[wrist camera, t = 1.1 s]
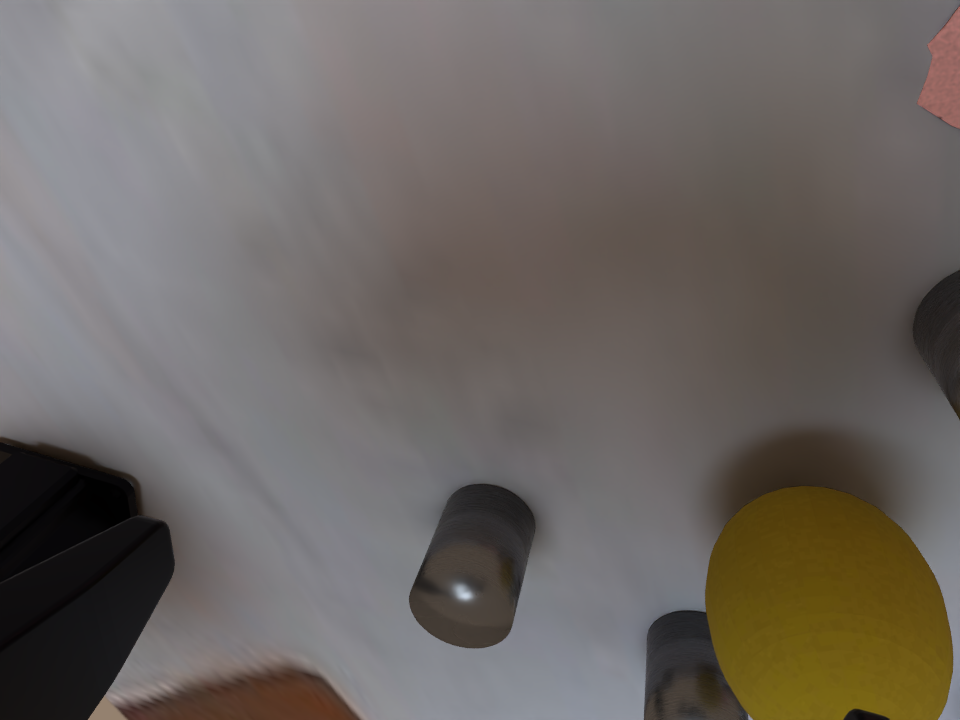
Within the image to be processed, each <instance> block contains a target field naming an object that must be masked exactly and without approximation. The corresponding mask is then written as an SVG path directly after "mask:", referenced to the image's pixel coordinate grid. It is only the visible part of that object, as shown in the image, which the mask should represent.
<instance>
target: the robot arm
mask: <svg viewBox="0 0 960 720" xmlns="http://www.w3.org/2000/svg"><path fill="white" fill-rule="evenodd" d="M174 566H175V560H174V554H173V548H172V542H171V536H170V530H169V526H168V525H167V524H166V522H164V521H162V520H158V519H154V518H150V517H147V516H141V515H140V516H138V514H137V507H136V500H135V493H134V489H133V487H132V485H131V484H130V483H129V482H128V481H126V480H125V479H122V478H120V477H116V476H113V475H109V474H106V473H103V472H99V471H96V470H92V469H89V468H86V467H82V466H79V465H75V464H72V463H69V462H65V461H62V460H58V459H55V458H52V457H48V456H45V455H41V454H38V453H35V452H31V451H28V450H24V449H21V448H18V447H14V446H11V445H7V444H4V443H1V442H0V720H88V718H89V717H90V715H91V714H92V713H93V711H94V710H95V708H96V707H97V705H98V704H99V702H100V701H101V700H102V698H103V697H104V695H105V694H106V692H107V691H108V689H109V688H110V686H111V685H112V683H113V682H114V680H115V678H116V677H117V675H118V673H119V672H120V670H121V668H122V666H123V665H124V663H125V661H126V659H127V658H128V656H129V654H130V652H131V650H132V649H133V647H134V645H135V643H136V641H137V640H138V638H139V636H140V634H141V632H142V631H143V629H144V627H145V625H146V623H147V622H148V620H149V618H150V616H151V614H152V613H153V611H154V609H155V607H156V605H157V604H158V602H159V600H160V598H161V596H162V595H163V593H164V591H165V589H166V587H167V586H168V584H169V582H170V580H171V578H172V575H173V572H174ZM843 720H890V719H889V718H887V717H885V716H883V715H880V714H876V713H872V712H868V711H865V710H861V709H852V710H850V711H849V712H848V713H847V714H846V716H845V718H844V719H843Z"/></svg>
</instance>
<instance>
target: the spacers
mask: <svg viewBox="0 0 960 720" xmlns="http://www.w3.org/2000/svg"><path fill="white" fill-rule="evenodd" d="M913 337H914V341H915V344H916V347H917V349H918V351H919V352H920V354H921V356H922V357H923V359H924V361H925V362H926V364H927V366H928V367H929V369H930V371H931V372H932V374H933V376H934V377H935V379H936V381H937V382H938V384H939V386H940V387H941V389H942V391H943V392H944V394H945V396H946V397H947V399H948V401H949V402H950V404H951V406H952V407H953V409H954V411H955V412H956V414H957V416H958V417H959V419H960V271H958V272H956V273H954V274H952V275H950V276H949V277H947V278H946V279H944V280H943V281H941V282H940V283H939V284H938V285H936V286H935V287H934V288H933V289H932V290H931V291H930V292H929V293H928V295H927V296H926V297H925V298H924V300H923V301H922V303H921V304H920V306H919V308H918V310H917V313H916V316H915V319H914V324H913ZM534 532H535V522H534V518H533V515H532V513H531V511H530V510H529V508H528V507H527V505H526V504H525V503H524V502H523V501H522V500H521V499H520V498H518V497H517V496H516V495H514V494H513V493H511V492H509V491H507V490H505V489H503V488H500V487H496V486H492V485H481V484H478V485H471V486H467V487H464V488H462V489H460V490H458V491H457V492H455V493H454V494H453V495H452V496H451V497H450V499H449V500H448V502H447V504H446V507H445V509H444V511H443V514H442V516H441V519H440V521H439V524H438V526H437V528H436V531H435V533H434V536H433V538H432V541H431V543H430V545H429V548H428V550H427V553H426V555H425V558H424V560H423V562H422V565H421V567H420V570H419V572H418V575H417V577H416V579H415V582H414V584H413V587H412V589H411V592H410V596H409V603H410V608H411V611H412V613H413V615H414V617H415V618H416V620H417V621H418V623H419V624H420V625H421V626H422V627H423V628H424V629H425V630H426V631H428V632H429V633H430V634H432V635H433V636H435V637H436V638H438V639H440V640H442V641H444V642H446V643H449V644H452V645H455V646H459V647H465V648H485V647H489V646H493V645H495V644H497V643H499V642H501V641H502V640H503V639H505V638H506V637H507V635H508V634H509V632H510V630H511V628H512V624H513V620H514V616H515V612H516V608H517V603H518V599H519V595H520V591H521V587H522V583H523V579H524V574H525V570H526V566H527V562H528V558H529V554H530V549H531V545H532V541H533V537H534ZM644 720H748V713H747V712H746V711H745V710H744V708H743V707H742V706H741V704H740V703H739V701H738V699H737V698H736V696H735V694H734V693H733V691H732V689H731V687H730V686H729V684H728V682H727V681H726V679H725V677H724V674H723V672H722V670H721V668H720V665H719V662H718V660H717V657H716V654H715V650H714V647H713V643H712V638H711V633H710V628H709V623H708V619H707V614H706V613H701V612H693V611H682V612H675V613H671V614H668V615H665V616H663V617H661V618H660V619H658V620H657V621H656V622H655V623H653V625H652V626H651V627H650V629H649V632H648V636H647V657H646V681H645V706H644Z"/></svg>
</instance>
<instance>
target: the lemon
mask: <svg viewBox="0 0 960 720" xmlns="http://www.w3.org/2000/svg"><path fill="white" fill-rule="evenodd" d="M705 604H706V613H707V619H708V623H709V628H710V633H711V638H712V643H713V647H714V650H715V654H716V657H717V660H718V662H719V665H720V668H721V670H722V672H723V674H724V677H725V679H726V681H727V682H728V684H729V686H730V687H731V689H732V691H733V693H734V694H735V696H736V698H737V699H738V701H739V703H740V704H741V706H742V707H743V708H744V710H745V711H746V712H747V713H748V714H749V716H750V717H751V718H752V719H753V720H843V719H844V718H845V716H846V714H847V713H848V712H849V711H850V710H852V709H861V710H865V711H868V712H872V713H876V714H880V715H883V716H885V717H887V718H889V719H890V720H938V718H939V717H940V715H941V714H942V711H943V709H944V707H945V705H946V702H947V698H948V693H949V688H950V683H951V678H952V673H953V646H952V638H951V631H950V626H949V622H948V617H947V612H946V608H945V603H944V599H943V596H942V593H941V590H940V587H939V585H938V582H937V580H936V578H935V576H934V574H933V572H932V570H931V569H930V567H929V565H928V564H927V562H926V560H925V559H924V557H923V556H922V554H921V553H920V551H919V550H918V548H917V547H916V545H915V544H914V543H913V541H912V540H911V538H910V537H909V536H908V535H907V534H906V533H905V531H904V530H903V529H902V528H901V527H900V526H898V525H897V524H896V523H895V522H894V521H892V520H891V519H890V518H889V517H888V516H887V515H885V514H884V513H883V512H882V511H880V510H879V509H878V508H877V507H875V506H873V505H871V504H869V503H867V502H865V501H863V500H861V499H859V498H857V497H855V496H853V495H851V494H849V493H845V492H841V491H837V490H833V489H829V488H825V487H813V486H797V487H789V488H782V489H779V490H776V491H773V492H770V493H767V494H764V495H762V496H760V497H759V498H757V499H755V500H753V501H752V502H750V503H748V504H747V505H745V506H744V507H743V508H742V509H741V510H740V511H739V512H737V513H736V514H735V515H734V516H733V517H732V518H731V519H730V520H729V521H728V522H727V524H726V525H725V527H724V529H723V530H722V532H721V534H720V536H719V538H718V540H717V542H716V543H715V545H714V548H713V550H712V553H711V557H710V562H709V567H708V574H707V580H706V589H705Z"/></svg>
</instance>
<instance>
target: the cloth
mask: <svg viewBox="0 0 960 720" xmlns="http://www.w3.org/2000/svg"><path fill="white" fill-rule="evenodd" d="M927 46H928V48H929V50H930V52H931V54H932V56H933V58H932V61H931V65H930V69H929V72H928V76H927V79H926V81H925V84H924V86H923V89H922V92H921V94H920V97H919V99H918V102H917V104H918V105H920V106H922V107H923V108H925V109H926V110H928V111H929V112H931V113H932V114H934V115H936V116H937V117H939V118H940V119H942V120H943V121H945V122H946V123H948V124H949V125H951V126H954V127H956V128H959V129H960V6H959V7H958V9H957V10H956V11H955V13H954V14H953V15H952V17H951V18H950V19H949V21H948V22H947V23H946V25H945V26H944V27H943V28H942V29H941V30H940V32H939V33H938V34H937V35H936V36H935V37H934V38H933V39H932V40H931V42H930V43H929V44H928V45H927Z"/></svg>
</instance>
